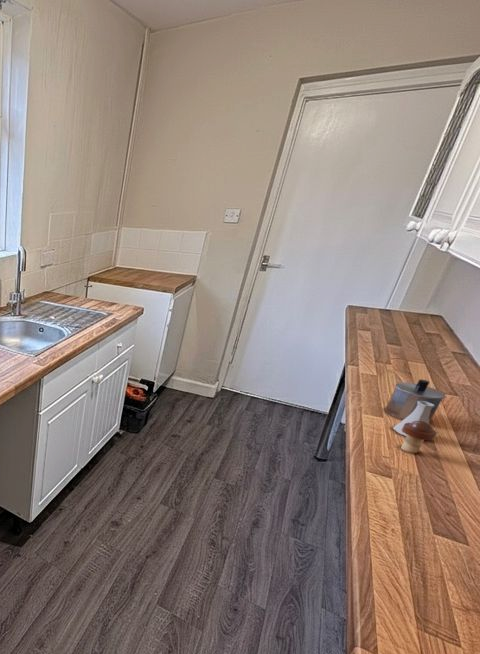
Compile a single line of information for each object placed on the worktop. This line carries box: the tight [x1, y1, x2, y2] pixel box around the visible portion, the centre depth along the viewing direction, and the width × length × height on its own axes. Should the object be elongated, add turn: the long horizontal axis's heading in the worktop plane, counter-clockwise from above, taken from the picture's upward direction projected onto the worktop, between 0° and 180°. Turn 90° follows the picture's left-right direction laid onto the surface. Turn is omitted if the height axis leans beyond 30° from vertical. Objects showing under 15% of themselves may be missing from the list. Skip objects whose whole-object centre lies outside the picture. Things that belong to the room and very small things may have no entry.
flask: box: [392, 401, 435, 437], centre depth 117 cm, size 7×7×10 cm
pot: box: [384, 386, 443, 423], centre depth 127 cm, size 10×10×8 cm
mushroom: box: [400, 421, 437, 454], centre depth 109 cm, size 6×6×9 cm
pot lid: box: [394, 379, 446, 400], centre depth 125 cm, size 11×11×4 cm
